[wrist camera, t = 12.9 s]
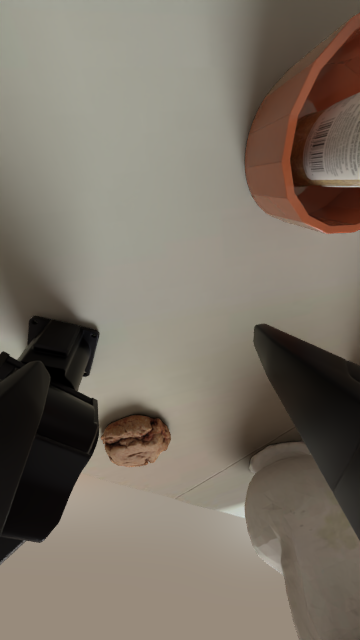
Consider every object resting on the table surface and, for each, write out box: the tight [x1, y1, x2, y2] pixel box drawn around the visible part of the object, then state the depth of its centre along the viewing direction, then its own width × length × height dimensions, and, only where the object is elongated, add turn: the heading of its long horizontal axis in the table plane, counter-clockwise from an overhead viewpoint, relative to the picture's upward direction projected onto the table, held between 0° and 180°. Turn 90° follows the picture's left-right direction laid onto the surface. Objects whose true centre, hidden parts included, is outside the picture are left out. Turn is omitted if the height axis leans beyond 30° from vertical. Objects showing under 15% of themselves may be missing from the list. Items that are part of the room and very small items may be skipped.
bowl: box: [245, 13, 360, 234], centre depth 15 cm, size 10×10×6 cm
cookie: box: [101, 415, 171, 467], centre depth 33 cm, size 10×11×3 cm
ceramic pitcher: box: [245, 441, 360, 640], centre depth 32 cm, size 22×20×25 cm
